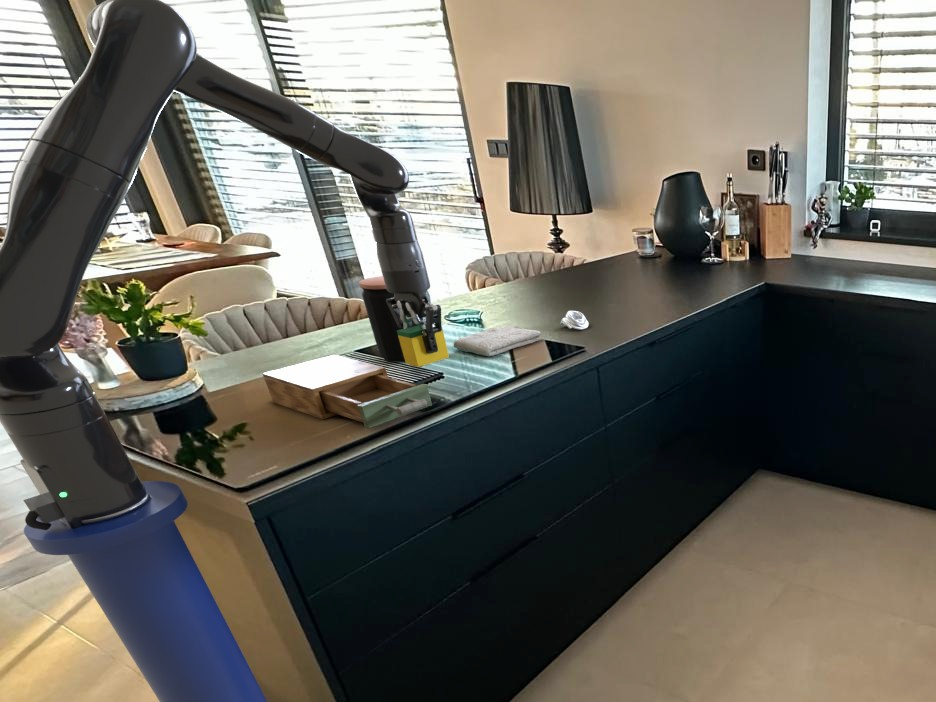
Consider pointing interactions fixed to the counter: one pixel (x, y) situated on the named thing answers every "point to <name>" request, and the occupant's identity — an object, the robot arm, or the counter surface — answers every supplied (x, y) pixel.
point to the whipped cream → (574, 320)
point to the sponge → (420, 347)
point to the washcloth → (497, 340)
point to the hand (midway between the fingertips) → (425, 350)
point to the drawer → (375, 399)
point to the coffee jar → (382, 318)
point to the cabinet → (315, 382)
